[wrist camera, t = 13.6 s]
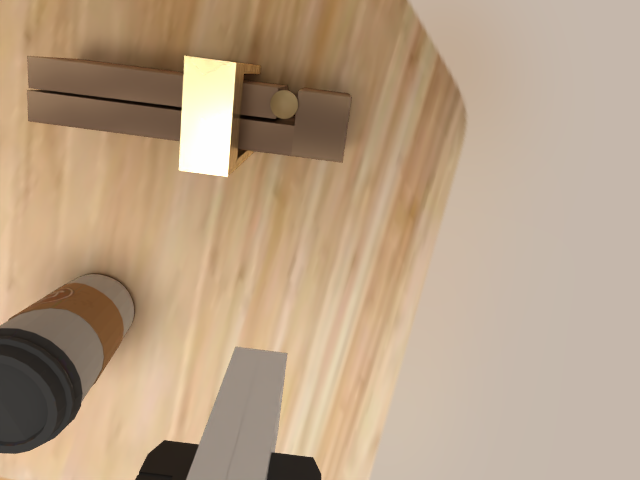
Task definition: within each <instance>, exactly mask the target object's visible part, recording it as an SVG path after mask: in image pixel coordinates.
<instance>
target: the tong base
mask: <svg viewBox="0 0 640 480" xmlns="http://www.w3.org/2000/svg"><path fill="white" fill-rule="evenodd" d="M27 98H28V121H31V122H39V123H46V124H54V125H61V126H69V127H76V128H84V129H91V130H99V131H107V132H114V133H122V134H129V135H137V136H144V137H152V138H160V139H167V140H175V141H180V137H181V117H182V107H177V106H169V105H161V104H153V103H145V102H137V101H129V100H121V99H113V98H105V97H97V96H89V95H81V94H73V93H65V92H57V91H49V90H27ZM351 99H352V97H351V96H350V94H347V93H340V92H332V91H325V90H317V89H310V88H303V89H300V90H298V99H297V98H296V96H295V95H294V94H293V93H292V92H290V91H287V90H282V91H278V92H277V93H275V94H274V95H273V97H272V98H271V102H270V107H271V110H272V112H273V114H274V115H275V116H277V117H278V118H276V119H272V118H264V117H256V116H249V115H241V116H240V129H239V141H238V149H243V150H250V151H258V152H265V153H273V154H280V155H288V156H296V157H303V158H311V159H318V160H326V161H333V162H341V163H343V156H344V149H345V142H346V135H347V127H348V120H349V113H350V106H351ZM295 113H296V117H292V116H293V115H294V114H295Z"/></svg>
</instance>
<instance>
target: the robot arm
mask: <svg viewBox="0 0 640 480" xmlns="http://www.w3.org/2000/svg"><path fill="white" fill-rule="evenodd" d="M286 361H287V353H281V352H273V351H265V350H258V349H250V348H242V347H235V349H234V352H233V355H232V358H231V360H230V363H229V366H228V368H227V371H226V374H225V376H224V379H223V382H222V385H221V387H220V390H219V393H218V395H217V398H216V401H215V403H214V406H213V409H212V411H211V414H210V417H209V420H208V422H207V425H206V428H205V430H204V433H203V436H202V438H201V441H200V444H199V445H198V444H190V443H182V442H174V441H166V440H164V441H163V442H162V443H161V444H159V445H158V446H157V447H156V448H155V449H154V450H152V451H151V452H150V453H149V454H148V455H147V457H146V459H145V461H144V463H143V465H142V467H141V469H140V471H139V475H137V477H136V479H135V480H321V473H320V471H319V469H318V467H317V465H316V462H315V460H314V458H313V457H305V456H297V455H289V454H281V453H274V452H275V446H276V440H277V434H278V426H279V418H280V410H281V402H282V393H283V385H284V377H285V369H286Z"/></svg>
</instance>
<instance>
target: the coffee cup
mask: <svg viewBox="0 0 640 480" xmlns="http://www.w3.org/2000/svg"><path fill="white" fill-rule="evenodd" d="M133 318H134V305H133V301H132V298H131V296H130V294H129V292H128V291H127V289H126V288H125V287H124V286H123V285H122V284H121V283H119V282H118V281H117V280H115V279H113V278H111V277H108V276H104V275H99V274H88V275H84V276H80V277H79V278H77V279H75V280H73V281H72V282H70V283H68V284H66V285H64V286H62V287H60V288H58V289H57V290H55V291H53V292H52V293H50V294H49V295H47V296H45V297H44V298H42V299H40V300H39V301H37V302H36V303H34V304H32V305H31V306H29V307H27V308H26V309H24V310H23V311H21V312H19V313H18V314H16V315H14V316H13V317H11V318H10V319H9V320H8V321H7V322H6V323H4V324H2V325H1V326H0V453H13V454H17V453H21V452H26V451H30V450H32V449H34V448H36V447H38V446H40V445H42V444H44V443H46V442H48V441H50V440H52V439H54V438H55V437H56V436H57V435H58V434H59V433H60V432H61V431H62V430H63V429H64V428H65V427H66V426H67V425H68V424H69V423H70V422H72V421H73V420H74V418H75V417H76V415H77V413H78V411H79V409H80V407H81V402H82V401H83V399H84V397H85V396H86V394H87V393H88V391H89V390H90V388H91V387H92V386H93V385H94V384H95V383H96V381H97V379H98V378H99V376H100V375H101V373H102V372H103V370H104V368H105V367H106V365H107V364H108V362H109V361H110V359H111V357H112V356H113V354H114V353H115V351H116V350H117V348H118V347H119V345H120V343H121V341H122V339H123V337H124V336H125V334H126V332H127V331H128V329H129V328H130V326H131V324H132V322H133Z"/></svg>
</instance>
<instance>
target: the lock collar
mask: <svg viewBox="0 0 640 480" xmlns="http://www.w3.org/2000/svg"><path fill="white" fill-rule="evenodd" d="M260 70H261V66H260V65H252V64H245V63H237V62H230V61H222V60H215V59H207V58H199V57H191V56H184V75H183V96H182V117H181V137H180V158H179V170H180V171H188V172H195V173H203V174H210V175H218V176H226V177H228V176H229V175H230V174H231V173H232V172H233V171H234V170H235V169H236V168H237V167H238V166H240V165H241V164H242V163H243V162H244V161H245V160H246V159H247V158H248V157H249V156H250V155H251V154H252V153H253V151H250V150H243V149H238V141H239V129H240V116H241V104H242V92H243V79H244V74H260Z"/></svg>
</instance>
